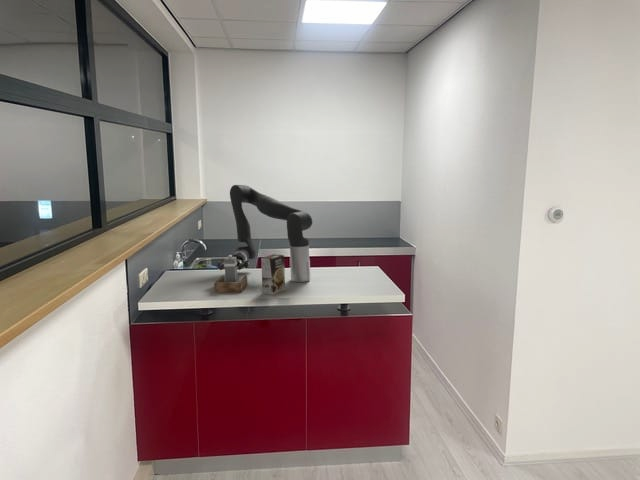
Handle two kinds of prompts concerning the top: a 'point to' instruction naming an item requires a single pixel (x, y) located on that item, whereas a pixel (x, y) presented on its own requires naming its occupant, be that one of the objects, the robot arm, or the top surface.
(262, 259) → the coffee box
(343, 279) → the top surface
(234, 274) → the connector plug
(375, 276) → the top surface
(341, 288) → the top surface
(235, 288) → the caddy
